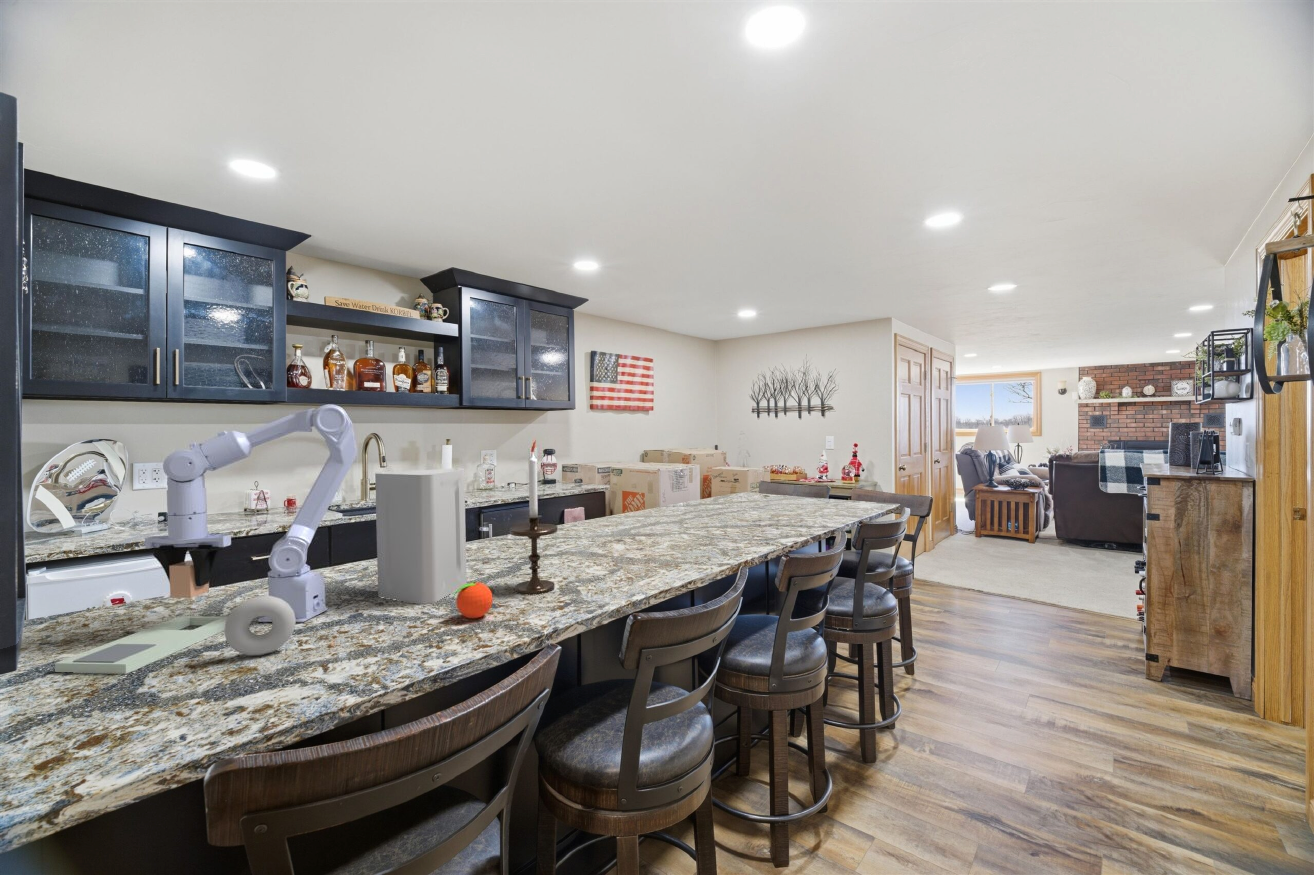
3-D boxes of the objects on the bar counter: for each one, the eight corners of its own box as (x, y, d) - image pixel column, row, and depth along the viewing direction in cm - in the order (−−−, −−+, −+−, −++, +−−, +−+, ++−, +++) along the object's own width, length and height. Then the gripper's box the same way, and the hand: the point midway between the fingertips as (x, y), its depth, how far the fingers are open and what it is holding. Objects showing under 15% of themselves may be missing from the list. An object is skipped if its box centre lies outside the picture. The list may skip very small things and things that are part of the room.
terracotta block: (209, 591, 109) (208, 560, 109) (190, 597, 105) (189, 565, 105) (189, 591, 109) (188, 560, 109) (170, 597, 105) (169, 565, 105)
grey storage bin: (379, 610, 118) (376, 476, 118) (378, 592, 131) (375, 472, 131) (474, 597, 127) (471, 472, 126) (464, 581, 140) (461, 468, 139)
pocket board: (238, 624, 111) (238, 615, 111) (126, 673, 89) (125, 663, 89) (180, 623, 112) (180, 615, 112) (55, 672, 90) (54, 661, 90)
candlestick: (557, 581, 139) (555, 438, 138) (559, 593, 128) (556, 439, 128) (511, 584, 137) (509, 439, 136) (510, 597, 126) (507, 440, 125)
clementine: (459, 627, 108) (458, 590, 108) (445, 618, 113) (445, 582, 113) (499, 617, 113) (498, 582, 113) (484, 609, 118) (483, 575, 118)
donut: (222, 664, 92) (221, 603, 92) (227, 656, 95) (225, 597, 95) (295, 652, 97) (294, 594, 97) (297, 645, 100) (296, 589, 100)
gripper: (241, 509, 111) (243, 578, 111) (166, 510, 111) (168, 579, 111) (214, 515, 104) (216, 588, 104) (133, 516, 104) (136, 590, 104)
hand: (189, 584), depth 107 cm, fingers closed on terracotta block, 4 cm apart
